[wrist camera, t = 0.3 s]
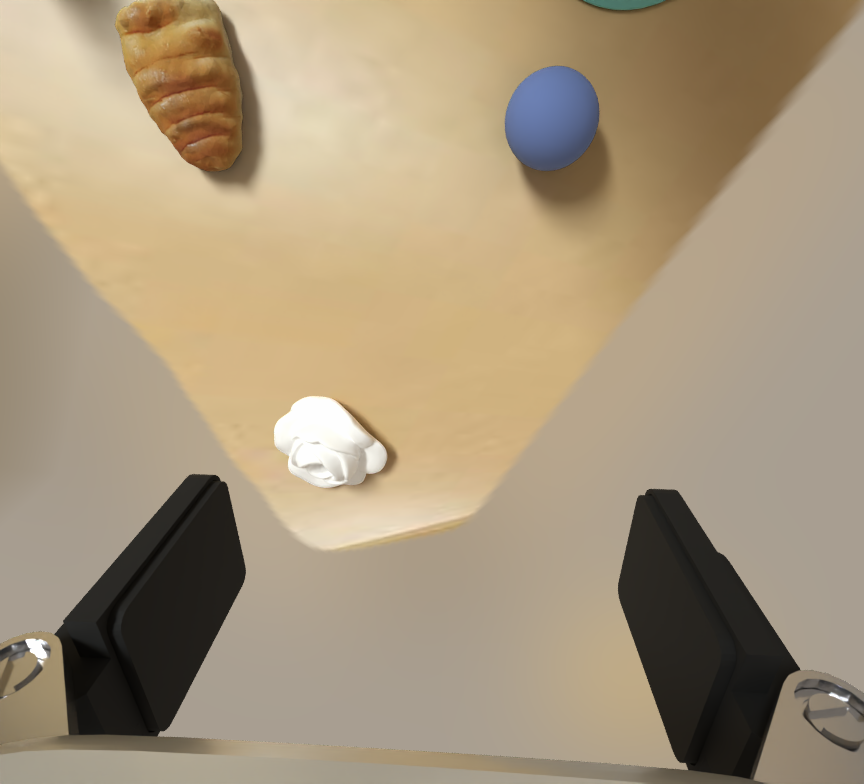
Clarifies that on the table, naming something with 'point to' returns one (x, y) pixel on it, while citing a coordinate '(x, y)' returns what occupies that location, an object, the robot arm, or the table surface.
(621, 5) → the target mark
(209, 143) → the pastry
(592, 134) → the ball
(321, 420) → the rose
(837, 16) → the table surface
